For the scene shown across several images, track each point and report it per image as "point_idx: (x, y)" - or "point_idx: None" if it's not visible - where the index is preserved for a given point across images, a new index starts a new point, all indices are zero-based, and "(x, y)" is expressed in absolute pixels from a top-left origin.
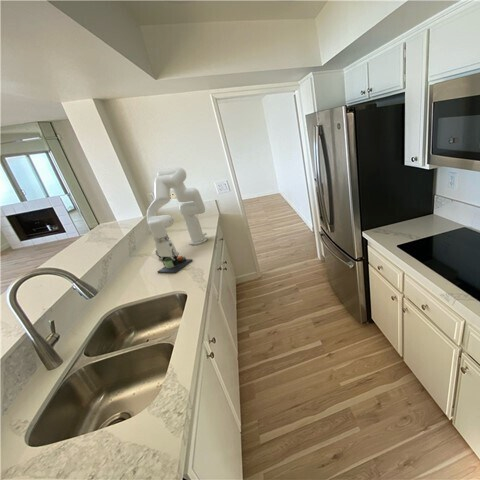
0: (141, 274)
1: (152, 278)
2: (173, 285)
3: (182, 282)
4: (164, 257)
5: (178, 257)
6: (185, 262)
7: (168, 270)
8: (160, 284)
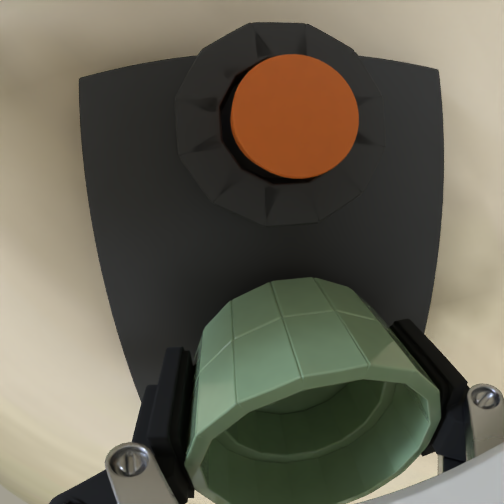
0: (16, 420)
1: None
2: None
3: None
4: (156, 486)
5: (288, 142)
6: (416, 180)
7: None
8: None
